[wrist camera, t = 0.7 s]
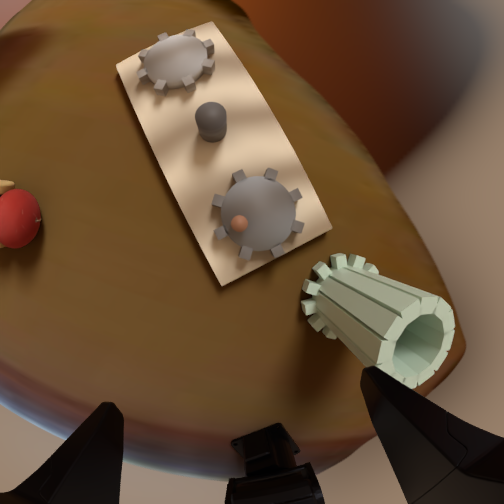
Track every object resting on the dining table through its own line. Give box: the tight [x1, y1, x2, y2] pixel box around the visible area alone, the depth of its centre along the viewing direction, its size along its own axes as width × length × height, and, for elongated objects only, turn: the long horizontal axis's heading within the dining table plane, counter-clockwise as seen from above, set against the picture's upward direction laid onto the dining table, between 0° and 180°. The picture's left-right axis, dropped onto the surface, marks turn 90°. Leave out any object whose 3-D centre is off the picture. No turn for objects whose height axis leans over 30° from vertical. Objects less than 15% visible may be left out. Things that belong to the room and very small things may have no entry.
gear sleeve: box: [301, 253, 455, 389], centre depth 20 cm, size 8×8×13 cm
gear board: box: [116, 22, 332, 286], centre depth 21 cm, size 25×11×5 cm, turn 27°
